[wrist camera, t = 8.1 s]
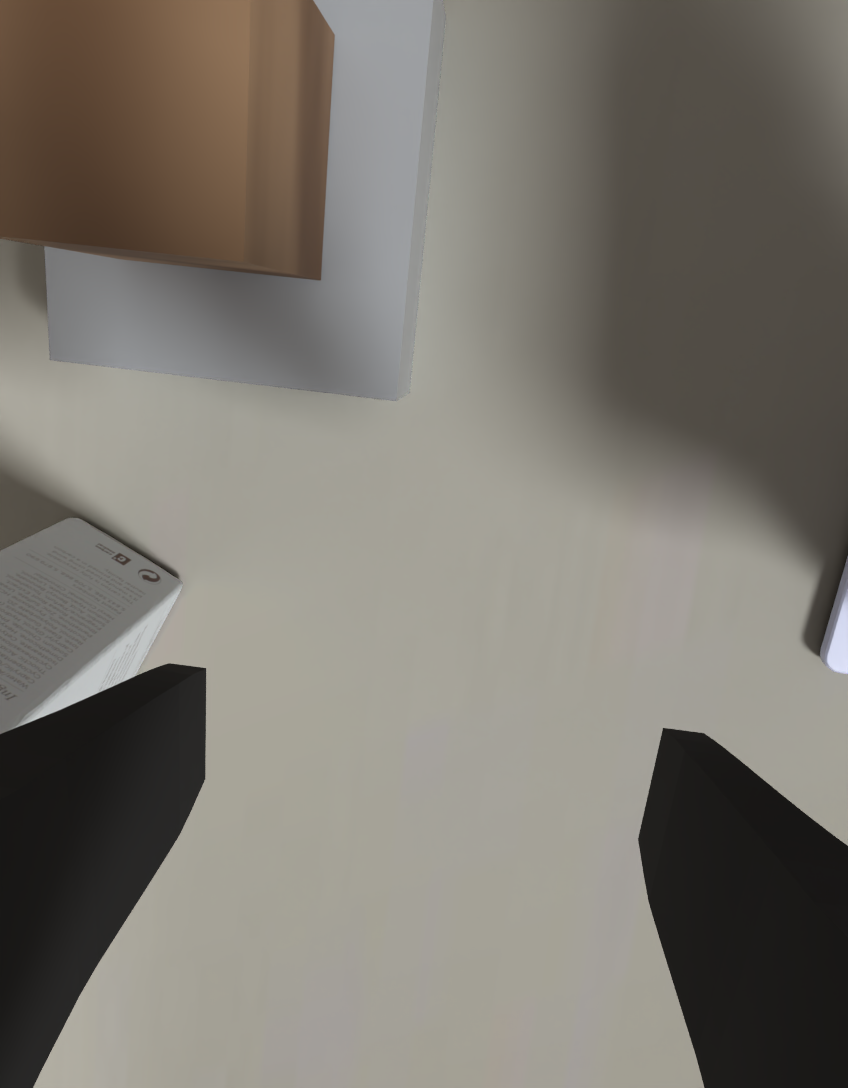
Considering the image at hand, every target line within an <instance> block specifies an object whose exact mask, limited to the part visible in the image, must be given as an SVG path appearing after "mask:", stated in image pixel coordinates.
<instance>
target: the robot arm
mask: <svg viewBox="0 0 848 1088" xmlns="http://www.w3.org/2000/svg"><path fill="white" fill-rule="evenodd" d="M820 657H821V659H822V662H823V663H824V664H825V665H826V666H827V667H828V668H829V669H831V670H832V671H835V672H838V673H844V674H848V557H847V560H846V564H845V567H844V571H843V574H842V578H841V581H840V584H839V588H838V591H837V595H836V598H835V602H834V605H833V609H832V612H831V615H830V619H829V622H828V626H827V629H826V633H825V636H824V640H823V643H822V646H821V650H820ZM205 740H206V668H200V667H192V666H185V665H177V664H166V665H163V666H160V667H157V668H154V669H152V670H149V671H147V672H144V673H142V674H139V675H137V676H135V677H133V678H130V679H128V680H126V681H123V682H121V683H119V684H117V685H115V686H112V687H110V688H108V689H106V690H103V691H101V692H99V693H97V694H94V695H92V696H90V697H88V698H85V699H83V700H81V701H79V702H77V703H74V704H72V705H70V706H68V707H65V708H63V709H61V710H58V711H56V712H54V713H51V714H49V715H46V716H44V717H41V718H39V719H36V720H34V721H31V722H29V723H26V724H24V725H21V726H19V727H16V728H14V729H11V730H9V731H7V732H4V733H2V734H0V1088H33V1086H34V1084H35V1082H36V1080H37V1078H38V1076H39V1074H40V1072H41V1070H42V1068H43V1066H44V1064H45V1062H46V1060H47V1058H48V1056H49V1054H50V1052H51V1050H52V1048H53V1046H54V1044H55V1042H56V1040H57V1038H58V1037H59V1035H60V1033H61V1031H62V1029H63V1027H64V1025H65V1023H66V1021H67V1019H68V1017H69V1015H70V1013H71V1011H72V1009H73V1007H74V1005H75V1003H76V1001H77V999H78V997H79V996H80V994H81V992H82V990H83V989H84V987H85V985H86V983H87V982H88V980H89V978H90V977H91V975H92V973H93V971H94V970H95V968H96V966H97V965H98V963H99V961H100V960H101V958H102V957H103V955H104V953H105V952H106V950H107V949H108V947H109V946H110V944H111V942H112V941H113V939H114V938H115V936H116V935H117V933H118V931H119V930H120V928H121V927H122V925H123V924H124V922H125V921H126V919H127V917H128V916H129V914H130V913H131V911H132V910H133V908H134V906H135V905H136V903H137V902H138V900H139V899H140V897H141V895H142V894H143V892H144V891H145V889H146V888H147V886H148V884H149V883H150V881H151V880H152V878H153V877H154V875H155V873H156V872H157V870H158V869H159V867H160V865H161V864H162V862H163V861H164V859H165V857H166V856H167V854H168V853H169V851H170V849H171V848H172V846H173V845H174V843H175V841H176V840H177V838H178V836H179V835H180V833H181V831H182V829H183V826H184V824H185V822H186V820H187V818H188V816H189V814H190V812H191V810H192V807H193V805H194V803H195V801H196V798H197V796H198V794H199V792H200V789H201V787H202V785H203V783H204V780H205ZM638 841H639V847H640V853H641V860H642V866H643V873H644V878H645V884H646V889H647V895H648V900H649V904H650V908H651V911H652V915H653V918H654V921H655V925H656V928H657V931H658V934H659V938H660V941H661V944H662V948H663V951H664V954H665V958H666V961H667V964H668V967H669V970H670V974H671V977H672V980H673V983H674V986H675V990H676V993H677V996H678V999H679V1002H680V1006H681V1009H682V1012H683V1015H684V1019H685V1022H686V1025H687V1028H688V1031H689V1035H690V1038H691V1041H692V1044H693V1048H694V1051H695V1054H696V1057H697V1061H698V1065H699V1069H700V1072H701V1076H702V1080H703V1084H704V1087H705V1088H848V846H847V845H846V844H844V843H843V842H842V841H840V840H839V839H838V838H836V837H835V836H833V835H832V834H831V833H830V832H828V831H827V830H826V829H824V828H823V827H822V826H820V825H819V824H818V823H816V822H815V821H814V820H813V819H811V818H810V817H809V816H807V815H806V814H805V813H804V812H802V811H801V810H800V809H799V808H797V807H796V806H795V805H794V804H792V803H791V802H790V801H789V800H787V799H786V798H785V797H784V796H782V795H781V794H780V793H779V792H778V791H776V790H775V789H774V788H773V787H771V786H770V785H769V784H768V783H767V782H765V781H764V780H763V779H762V778H760V777H759V776H758V775H757V774H756V773H754V772H753V771H752V770H751V769H750V768H748V767H747V766H746V765H745V764H743V763H742V762H741V761H740V760H739V759H737V758H736V757H735V756H734V755H732V754H731V753H730V752H729V751H727V750H726V749H725V748H723V747H722V746H721V745H720V744H718V743H717V742H716V741H714V740H713V739H711V738H710V737H708V736H707V735H705V734H704V733H697V732H690V731H682V730H674V729H667V728H663V731H662V736H661V740H660V745H659V749H658V753H657V758H656V762H655V767H654V771H653V776H652V780H651V785H650V789H649V794H648V798H647V802H646V807H645V811H644V816H643V820H642V825H641V829H640V834H639V838H638Z"/></svg>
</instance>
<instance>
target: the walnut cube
mask: <svg viewBox="0 0 848 1088" xmlns="http://www.w3.org/2000/svg"><path fill="white" fill-rule="evenodd" d="M334 40H335V34H334V33H333V31H332V30H331V28H330V26H329V25H328V23H327V22H326V20H325V18H324V17H323V15H322V14H321V12H320V10H319V9H318V7H317V5H316V4H315V2H314V1H313V0H0V238H1V239H6V240H12V241H18V242H24V243H29V244H35V245H41V246H47V247H52V248H58V249H64V250H70V251H75V252H81V253H87V254H92V255H98V256H104V257H110V258H115V259H122V260H131V261H140V262H150V263H159V264H169V265H178V266H188V267H197V268H206V269H216V270H225V271H235V272H244V273H253V274H263V275H272V276H282V277H291V278H301V279H310V280H319V281H321V270H322V252H323V235H324V217H325V199H326V182H327V164H328V146H329V129H330V111H331V93H332V76H333V58H334Z"/></svg>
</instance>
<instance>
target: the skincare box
mask: <svg viewBox="0 0 848 1088" xmlns="http://www.w3.org/2000/svg"><path fill="white" fill-rule="evenodd" d="M181 588H182V581H180V580H179V579H177V578H176V577H174V576H172V575H171V574H169V573H168V572H166V571H165V570H163V569H162V568H160V567H159V566H157V565H156V564H154V563H153V562H151V561H150V560H148V559H147V558H145V557H143V556H142V555H140V554H138V553H136V552H135V551H133V550H132V549H130V548H128V547H127V546H125V545H124V544H122V543H120V542H119V541H117V540H115V539H114V538H112V537H111V536H109V535H107V534H106V533H104V532H102V531H100V530H98V529H97V528H95V527H94V526H92V525H90V524H88V523H87V522H85V521H83V520H82V519H79V518H67V519H65V520H62V521H60V522H58V523H56V524H54V525H52V526H50V527H48V528H46V529H44V530H41V531H39V532H37V533H36V534H34V535H31V536H29V537H27V538H25V539H23V540H21V541H19V542H17V543H15V544H13V545H11V546H8V547H6V548H4V549H2V550H0V734H2V733H4V732H7V731H9V730H11V729H14V728H16V727H19V726H21V725H24V724H26V723H29V722H31V721H34V720H36V719H39V718H41V717H44V716H46V715H49V714H51V713H54V712H56V711H58V710H61V709H63V708H65V707H68V706H70V705H72V704H74V703H77V702H79V701H81V700H83V699H85V698H88V697H90V696H92V695H94V694H97V693H99V692H101V691H103V690H106V689H108V688H110V687H112V686H115V685H117V684H119V683H121V682H123V681H126V680H128V679H130V678H133V677H135V675H136V673H137V671H138V670H139V668H140V666H141V664H142V662H143V660H144V658H145V656H146V655H147V653H148V651H149V649H150V647H151V645H152V643H153V641H154V640H155V638H156V636H157V634H158V632H159V630H160V628H161V626H162V625H163V623H164V621H165V619H166V617H167V615H168V613H169V612H170V610H171V608H172V606H173V604H174V602H175V601H176V599H177V597H178V595H179V593H180V590H181Z"/></svg>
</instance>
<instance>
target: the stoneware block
mask: <svg viewBox="0 0 848 1088" xmlns="http://www.w3.org/2000/svg"><path fill="white" fill-rule="evenodd" d="M313 1H314V2H315V4H316V5H317V7H318V9H319V10H320V12H321V14H322V15H323V17H324V18H325V20H326V22H327V23H328V25H329V26H330V28H331V30H332V31H333V33H334V34H335V40H334V58H333V76H332V93H331V111H330V129H329V146H328V164H327V182H326V199H325V217H324V235H323V252H322V270H321V281H319V280H310V279H301V278H291V277H282V276H272V275H263V274H253V273H244V272H235V271H225V270H216V269H206V268H197V267H188V266H178V265H169V264H159V263H150V262H140V261H131V260H122V259H115V258H110V257H104V256H98V255H92V254H87V253H81V252H75V251H70V250H64V249H58V248H52V247H47V246H44V249H45V270H46V290H47V310H48V331H49V351H50V360H54V361H62V362H71V363H79V364H88V365H96V366H104V367H113V368H121V369H130V370H138V371H147V372H155V373H164V374H172V375H180V376H189V377H197V378H206V379H214V380H223V381H231V382H239V383H248V384H256V385H265V386H273V387H282V388H290V389H298V390H307V391H315V392H324V393H332V394H341V395H349V396H357V397H366V398H374V399H383V400H391V401H397V400H399V399H401V398H402V397H404V396H406V395H407V394H409V393H410V385H411V375H412V364H413V354H414V344H415V333H416V323H417V313H418V302H419V292H420V282H421V271H422V261H423V251H424V240H425V230H426V220H427V209H428V199H429V189H430V178H431V168H432V158H433V148H434V137H435V127H436V117H437V106H438V96H439V86H440V75H441V65H442V55H443V44H444V34H445V24H446V13H445V8H444V3H443V0H313Z"/></svg>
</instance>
